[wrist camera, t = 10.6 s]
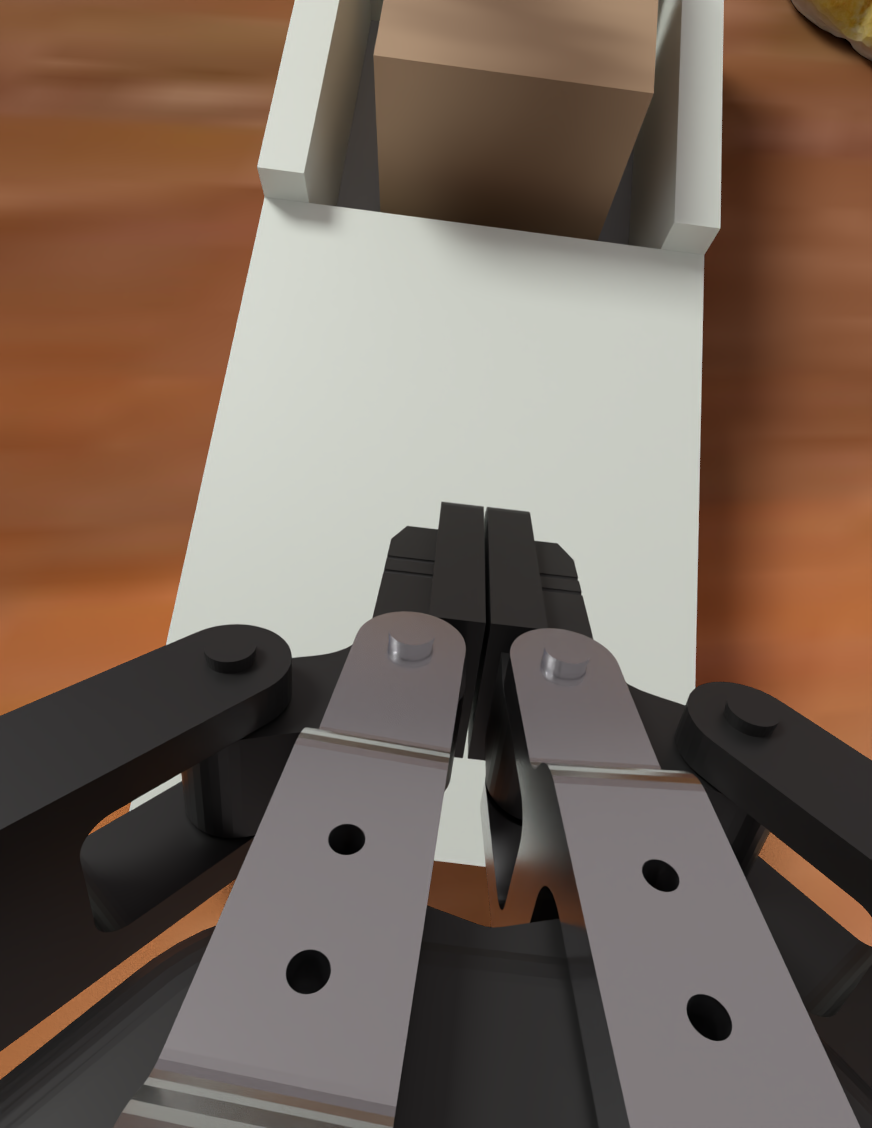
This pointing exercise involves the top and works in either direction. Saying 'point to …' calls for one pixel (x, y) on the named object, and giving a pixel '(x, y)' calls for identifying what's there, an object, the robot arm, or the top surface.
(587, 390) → the ledge
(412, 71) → the block
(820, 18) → the bread roll
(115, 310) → the top surface
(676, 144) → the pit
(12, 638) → the top surface
